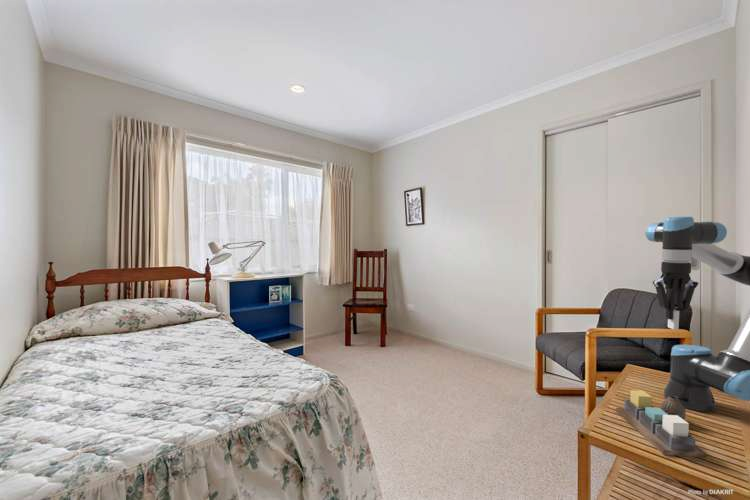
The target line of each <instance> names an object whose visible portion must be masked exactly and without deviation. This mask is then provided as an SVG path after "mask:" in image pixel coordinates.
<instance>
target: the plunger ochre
mask: <svg viewBox="0 0 750 500" xmlns="http://www.w3.org/2000/svg"><path fill="white" fill-rule="evenodd" d="M629 399H630V402H631V403H633V404H634V405H635V406H636V407H638V408H645V407H651V405H652V403H653V402H652V401H653V400H652V399H653V396H652V395H650V394H648V393H647V392H646V391H644V390H640V389H639V390H635V389H634V390H633V389H631V390H630V397H629Z"/></svg>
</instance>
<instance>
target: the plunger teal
mask: <svg viewBox="0 0 750 500" xmlns="http://www.w3.org/2000/svg"><path fill="white" fill-rule="evenodd" d="M645 414H646V415H647V416H649V417H650V418H651V419H652V420H653V421H663V415H668V414H667V413H665V412H664V411H663V410H661V409H660V407H654V406H653V407H645Z"/></svg>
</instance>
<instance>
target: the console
mask: <svg viewBox="0 0 750 500" xmlns="http://www.w3.org/2000/svg"><path fill="white" fill-rule="evenodd" d="M651 407H654V406H653V405H652V404H651ZM615 412H616V413H617V414H619V416H621V417H622V418H623V420H625V421H626V422H627V423H628V424H629V425H630V426H631V427H633V428H634V430H636V431H637V432H638V433H639V434H640V435H641V436H643V438H645V439H646V440H647V441H648V442H649V443H650V445H652V446H653V447H654V446H655V447H656V448H657V449H656V448H655V447H654V448H655V449H656V450H658V451H659V452H660V454H662V455H663V456H675V455H676V456H677V457H694V458H706V457H707V452H706V451H704V450H703V449H702V448H700V447H699V446H698V445H697V444H696V441H697V440H696V438H695V437H694V436H693V435H691V434H690V433H689V432H688V437H681V436H672V435H671V434H669V433H668V432H667V431H666V430H664V429H663V428H662V422H663V421H653V420H652V419H651V418H650V417H649V416H647V415H646V414H645V408H638V407H636V406H635V405H634V404H633V403H631V402H630V398H625V399H624V407H615Z"/></svg>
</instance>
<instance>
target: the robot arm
mask: <svg viewBox="0 0 750 500" xmlns="http://www.w3.org/2000/svg"><path fill="white" fill-rule="evenodd" d="M645 229H646V230H645V231H644V235H645V237H646V238H647V240H648V241H649V242H654V243H662V248H661V251H662V252H661V260H662V261H661V264H660V265H661V267H660V270H661V271H660V272H661V275H660V278H659V279H657V280H653V281H652V284H653V286H654V287H655V291H656V294H657V300H658V303H659V307H661V308H662V309H665V310H666V311H665V317H666V319H667V328H668V329H672V330H676V331H678V330H679V329H680V328H679V326H680V324H679V323H680V320H681V319H682V312H684V311H685V310H688V309H689V308H690V305H691V302H692V298H693V295H694V292H695V291H696V290H695V289H696V288H697V287H698V285H699V282H698V281H694V280H692V279H691V275H690V274H691V273H692V263H691V262H692V260H693V258H694V259H695V260H696V261H699V262H701V263H703V264H705V265H707V266H710V267H712V269H713V271H715V272H716V273H718V274H719V275H722V276H724V277H726V278H728V279H730V280H732V281H734V282H737V283H740V284H743V285H746V286H749V287H750V256H748V255H742V254H740V253H737V252H735V251H734V252H733V251H728V250H726V249H723V248H721V247H720V246H718V245H716V244H717V243H720V242H722V241H724V240H725V238H726V236H727V233H728V232H727V231H728V230H727V228H726V226H725V225H724V224H723V223H721V222H718V221H696V222H695V221H694V217H693V216H668V217H665V218H664V220H663V222H662V221H661V222H654V223H651V224H648V225H647V227H646V228H645ZM713 354H714V353H713V350H712V349H711V348H709V347H705V346H702V345H694V344H675V345H673V346H672V347H671V352H670V374H669V375H670V376H669V380H668V382H667V384H666V385H665V388H664V389H663V397H664V399H667V398H668V397H669V396H675V397H677V398H678V400H679V401H680V403H681V404H682V405H683V406H684V408H685V409H688V410H691V411H695V412H702V413H703V412H704V413H711V412H714V411H715V410H716V408H717V407H716V406H717V404H716V401H715V398H714V395H713V393H712V390H711V388H712V389H714V390H717V391H719V392H722V393H724V394H726V395H727V396H729V397H733V398H737V399H739V400H743V401H746V402H748V401H750V308H749V309H748V311H747V313H746V315H745V317H744V319H743V321H742V322H741V324H740V326H739V328H738V330H737V332H736V334H735V336H734V337H733V339H732V341H731V343H730V345H729V346H728V348H727V349H726V350H724V349H723V350H720V351H719V352H718V355H717V356H716V355H713Z"/></svg>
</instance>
